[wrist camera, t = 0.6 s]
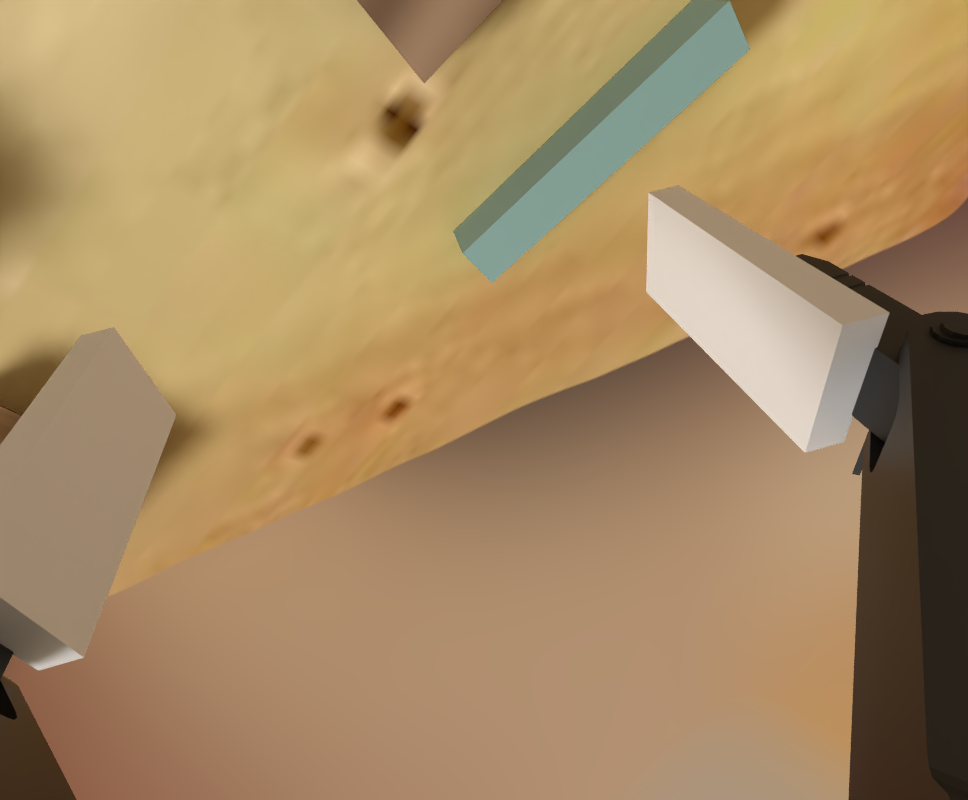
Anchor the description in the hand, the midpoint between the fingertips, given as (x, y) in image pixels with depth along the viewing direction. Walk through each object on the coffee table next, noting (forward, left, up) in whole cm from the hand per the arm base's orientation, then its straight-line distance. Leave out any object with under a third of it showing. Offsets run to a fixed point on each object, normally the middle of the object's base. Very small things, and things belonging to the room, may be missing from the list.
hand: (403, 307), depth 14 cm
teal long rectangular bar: (+10, +9, -25) cm, 28 cm away
